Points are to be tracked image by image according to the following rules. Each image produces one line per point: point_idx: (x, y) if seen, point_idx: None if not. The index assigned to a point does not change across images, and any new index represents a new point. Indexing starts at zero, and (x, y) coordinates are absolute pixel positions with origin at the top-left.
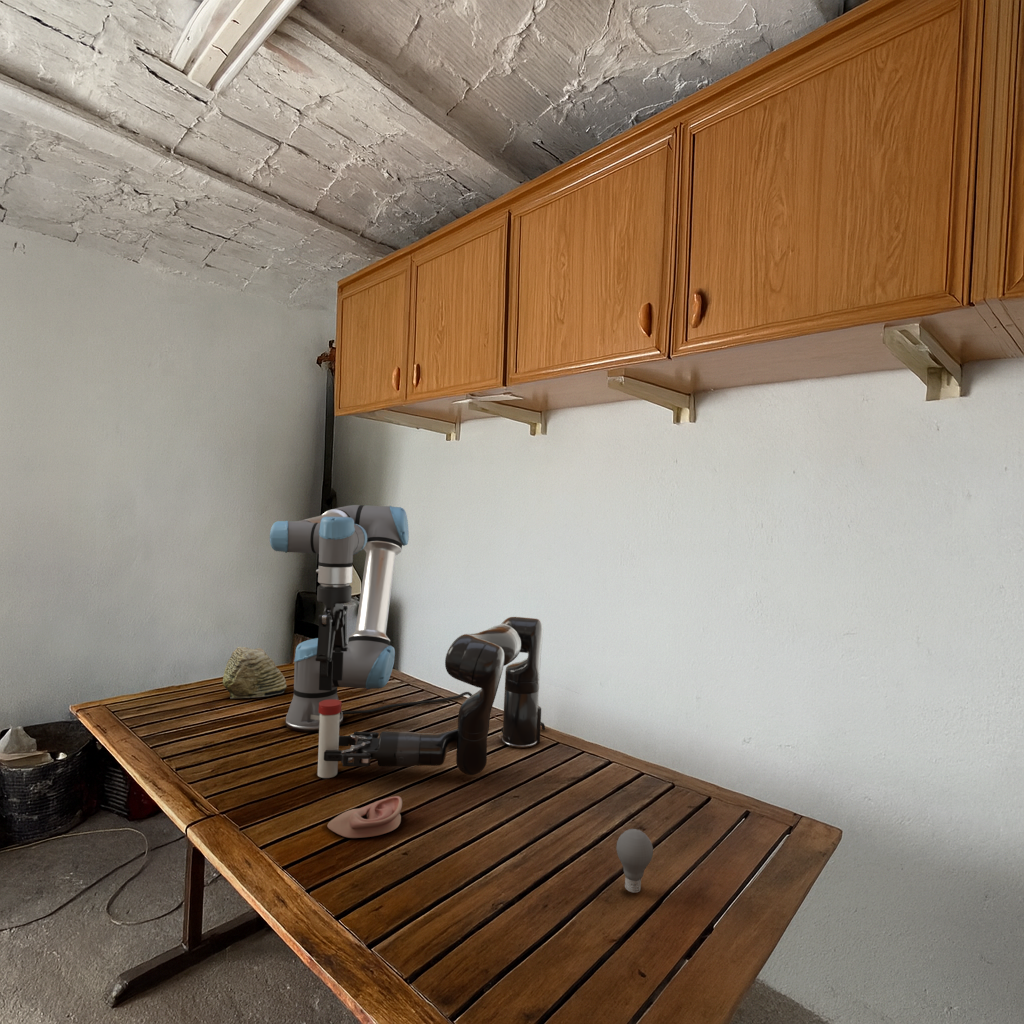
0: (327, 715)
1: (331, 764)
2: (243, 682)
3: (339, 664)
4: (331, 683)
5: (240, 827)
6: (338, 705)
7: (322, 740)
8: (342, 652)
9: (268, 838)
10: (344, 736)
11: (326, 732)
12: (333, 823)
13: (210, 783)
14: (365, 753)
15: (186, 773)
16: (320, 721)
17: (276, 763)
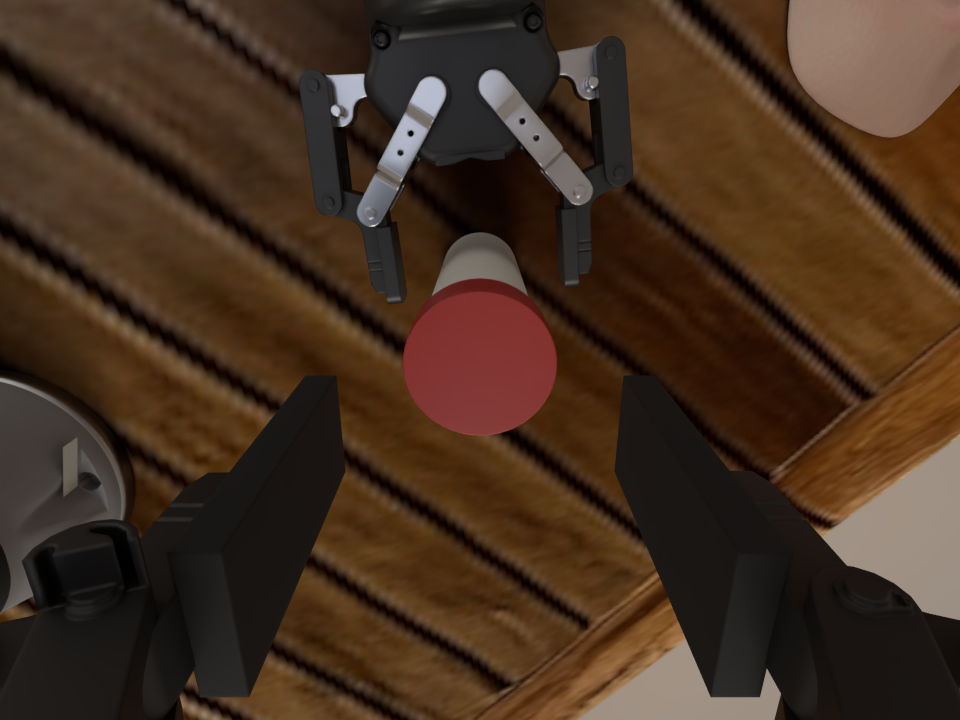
0: None
1: (511, 255)
2: None
3: (292, 481)
4: (663, 401)
5: (857, 401)
6: (515, 298)
7: None
8: (192, 561)
9: (935, 301)
10: (389, 248)
11: None
12: (924, 108)
13: (584, 580)
14: (598, 69)
15: (527, 657)
16: None
17: (420, 465)
